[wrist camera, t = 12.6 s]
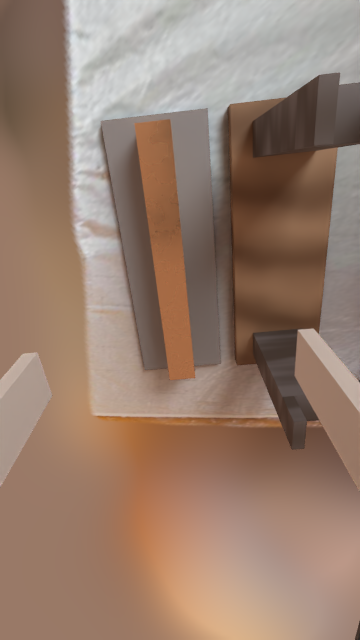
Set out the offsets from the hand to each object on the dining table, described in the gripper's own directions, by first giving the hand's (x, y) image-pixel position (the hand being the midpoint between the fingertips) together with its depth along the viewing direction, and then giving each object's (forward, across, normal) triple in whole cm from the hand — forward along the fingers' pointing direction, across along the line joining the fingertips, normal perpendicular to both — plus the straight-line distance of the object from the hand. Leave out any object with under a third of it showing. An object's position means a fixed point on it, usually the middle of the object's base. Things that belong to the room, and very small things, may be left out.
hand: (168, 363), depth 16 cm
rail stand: (+22, +12, 0) cm, 25 cm away
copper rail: (+21, 0, 0) cm, 21 cm away
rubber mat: (+22, 0, 0) cm, 22 cm away
